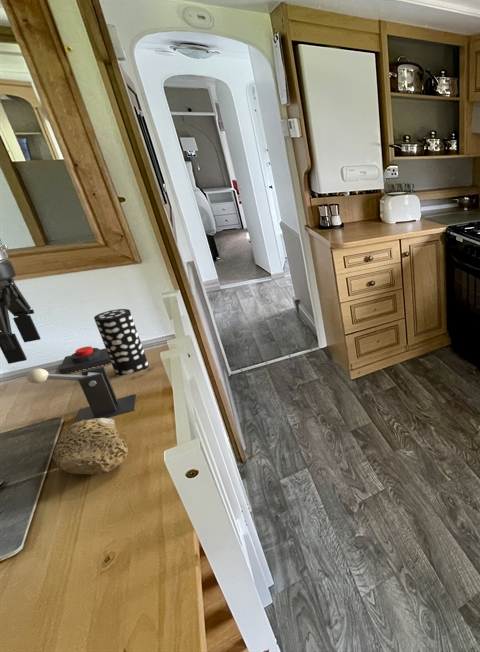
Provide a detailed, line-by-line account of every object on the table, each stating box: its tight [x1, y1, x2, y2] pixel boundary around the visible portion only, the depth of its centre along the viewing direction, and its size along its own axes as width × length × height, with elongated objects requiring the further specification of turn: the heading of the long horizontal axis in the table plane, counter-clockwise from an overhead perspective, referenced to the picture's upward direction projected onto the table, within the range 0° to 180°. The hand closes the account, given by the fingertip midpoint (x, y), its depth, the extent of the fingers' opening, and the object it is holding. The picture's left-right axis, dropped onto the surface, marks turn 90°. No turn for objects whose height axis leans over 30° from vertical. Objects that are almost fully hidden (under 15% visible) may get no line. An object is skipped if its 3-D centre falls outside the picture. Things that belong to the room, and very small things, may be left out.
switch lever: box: [26, 368, 103, 384], centre depth 95 cm, size 13×4×4 cm, turn 126°
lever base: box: [74, 366, 137, 423], centre depth 100 cm, size 12×9×13 cm
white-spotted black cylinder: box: [93, 308, 150, 377], centre depth 119 cm, size 8×8×20 cm
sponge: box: [51, 418, 129, 475], centre depth 86 cm, size 13×8×20 cm
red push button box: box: [58, 347, 111, 375], centre depth 126 cm, size 12×10×4 cm
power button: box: [74, 345, 94, 356], centre depth 125 cm, size 4×4×2 cm
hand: (25, 350), depth 89 cm, fingers open, 12 cm apart
